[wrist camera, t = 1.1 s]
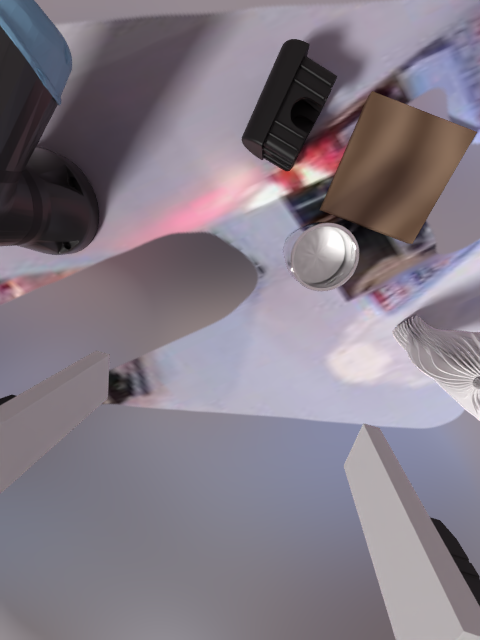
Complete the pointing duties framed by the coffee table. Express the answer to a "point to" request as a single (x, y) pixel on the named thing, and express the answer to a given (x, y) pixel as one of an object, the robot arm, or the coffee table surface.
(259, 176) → the coffee table surface
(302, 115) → the end cap
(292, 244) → the beer glass
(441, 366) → the white ridged vase
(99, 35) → the coffee table surface
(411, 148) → the walnut board
